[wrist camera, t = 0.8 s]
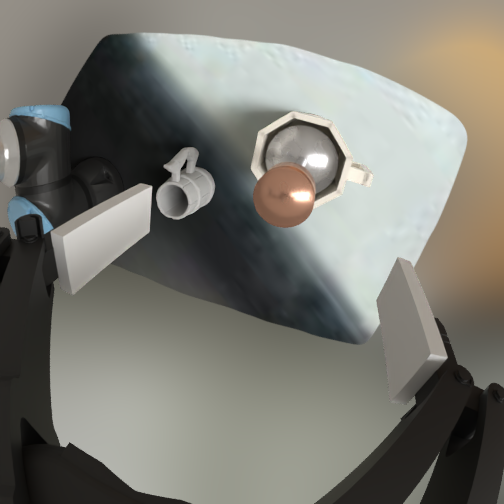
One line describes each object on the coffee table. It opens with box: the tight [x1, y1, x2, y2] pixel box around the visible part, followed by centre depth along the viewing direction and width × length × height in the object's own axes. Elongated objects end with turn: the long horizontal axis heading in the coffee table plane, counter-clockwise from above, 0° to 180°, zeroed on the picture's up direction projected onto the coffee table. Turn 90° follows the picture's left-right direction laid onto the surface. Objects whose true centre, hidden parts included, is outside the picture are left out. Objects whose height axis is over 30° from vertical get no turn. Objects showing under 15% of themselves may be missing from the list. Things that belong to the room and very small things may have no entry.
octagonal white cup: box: [251, 111, 374, 209], centre depth 40 cm, size 16×12×13 cm
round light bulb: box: [253, 125, 338, 228], centre depth 28 cm, size 9×9×18 cm
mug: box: [156, 147, 215, 219], centre depth 47 cm, size 8×12×12 cm, turn 174°
